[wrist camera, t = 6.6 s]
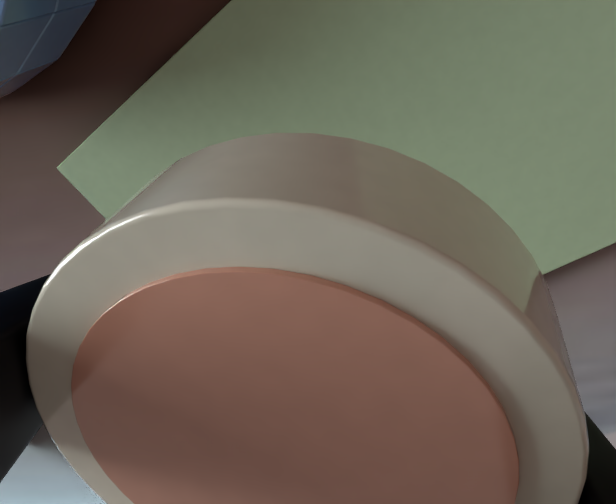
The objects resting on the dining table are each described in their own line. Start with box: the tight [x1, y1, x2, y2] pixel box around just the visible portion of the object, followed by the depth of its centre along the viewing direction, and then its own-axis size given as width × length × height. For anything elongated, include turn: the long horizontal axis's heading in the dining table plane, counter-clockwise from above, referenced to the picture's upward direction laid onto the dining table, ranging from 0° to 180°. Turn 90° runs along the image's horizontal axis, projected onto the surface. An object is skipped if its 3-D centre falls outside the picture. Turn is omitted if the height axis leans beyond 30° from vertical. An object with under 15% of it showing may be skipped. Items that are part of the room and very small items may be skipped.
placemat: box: [57, 0, 616, 275], centre depth 16 cm, size 20×12×1 cm, turn 129°
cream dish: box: [26, 133, 589, 504], centre depth 8 cm, size 7×7×3 cm
